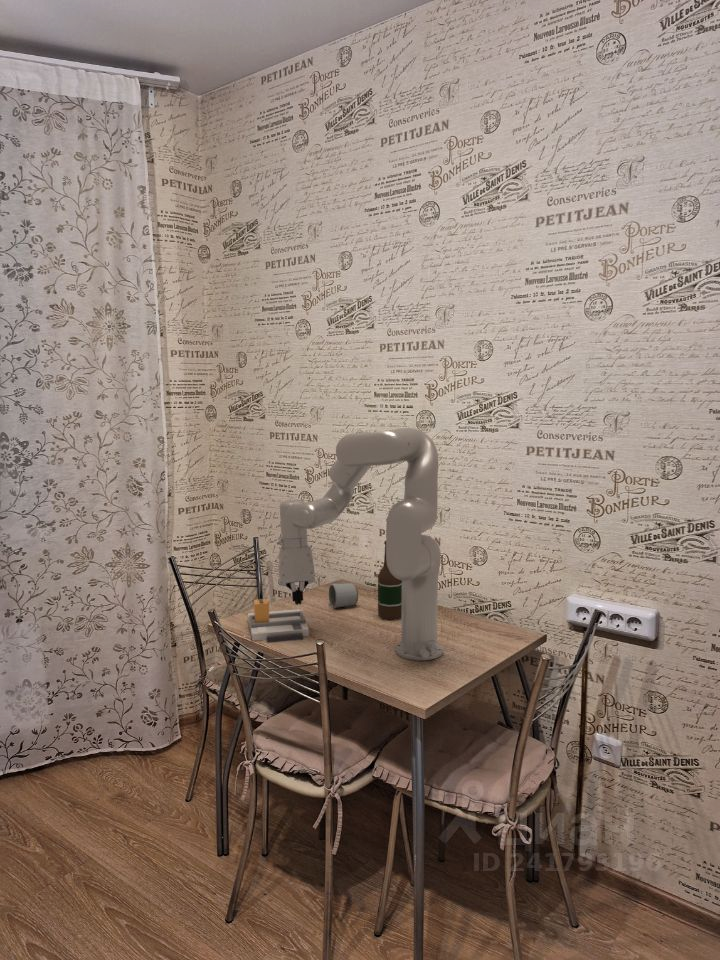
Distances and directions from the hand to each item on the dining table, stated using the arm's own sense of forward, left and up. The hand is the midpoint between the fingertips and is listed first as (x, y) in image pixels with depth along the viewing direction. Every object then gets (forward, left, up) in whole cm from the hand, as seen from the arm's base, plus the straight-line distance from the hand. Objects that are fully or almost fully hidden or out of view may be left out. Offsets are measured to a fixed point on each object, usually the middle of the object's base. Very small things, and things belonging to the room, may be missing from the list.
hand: (298, 603), depth 201 cm
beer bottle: (+2, -29, -8) cm, 30 cm away
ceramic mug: (+17, -16, -8) cm, 25 cm away
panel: (+1, +6, -7) cm, 10 cm away
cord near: (-10, +5, -7) cm, 13 cm away
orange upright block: (+1, +11, -5) cm, 12 cm away
